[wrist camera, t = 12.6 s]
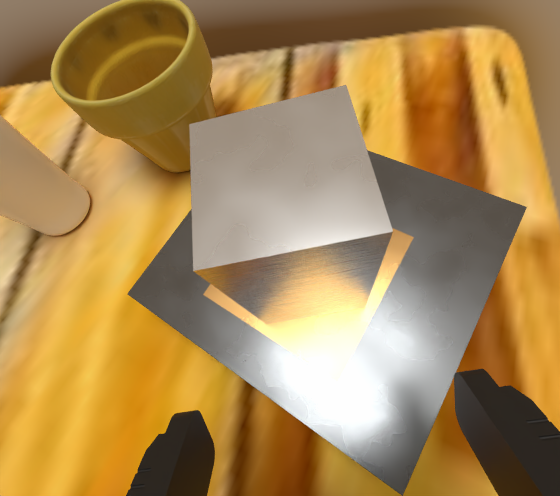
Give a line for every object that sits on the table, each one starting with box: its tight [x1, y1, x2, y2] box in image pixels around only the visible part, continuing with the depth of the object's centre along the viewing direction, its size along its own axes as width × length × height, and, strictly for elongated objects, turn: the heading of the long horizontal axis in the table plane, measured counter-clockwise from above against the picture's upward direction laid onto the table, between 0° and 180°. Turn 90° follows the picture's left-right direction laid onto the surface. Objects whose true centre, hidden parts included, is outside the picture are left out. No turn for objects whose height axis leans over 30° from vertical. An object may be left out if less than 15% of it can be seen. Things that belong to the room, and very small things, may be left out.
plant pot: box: [51, 0, 217, 172], centre depth 25 cm, size 10×10×10 cm
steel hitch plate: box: [128, 150, 527, 496], centre depth 20 cm, size 18×16×4 cm
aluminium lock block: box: [189, 85, 393, 324], centre depth 14 cm, size 6×6×10 cm
